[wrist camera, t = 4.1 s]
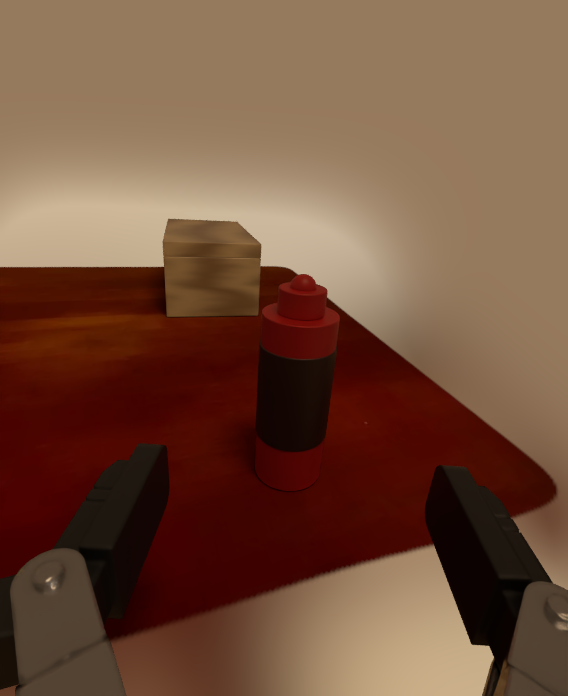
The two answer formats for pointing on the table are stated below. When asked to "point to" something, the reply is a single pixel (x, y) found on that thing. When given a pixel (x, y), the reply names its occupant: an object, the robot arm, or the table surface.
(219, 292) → the wooden block
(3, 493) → the table surface
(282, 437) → the red water bottle
